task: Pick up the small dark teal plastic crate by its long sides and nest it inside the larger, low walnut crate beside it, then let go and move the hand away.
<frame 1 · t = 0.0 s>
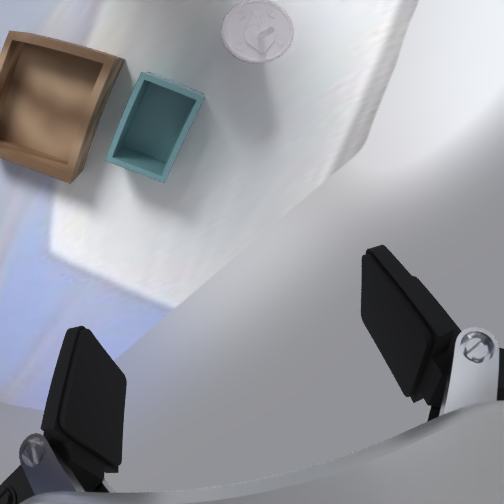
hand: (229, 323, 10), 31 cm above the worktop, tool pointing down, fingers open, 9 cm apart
small crate: (158, 120, 34), on the worktop
smoothie: (242, 40, 31), on the worktop
big crate: (50, 99, 30), on the worktop
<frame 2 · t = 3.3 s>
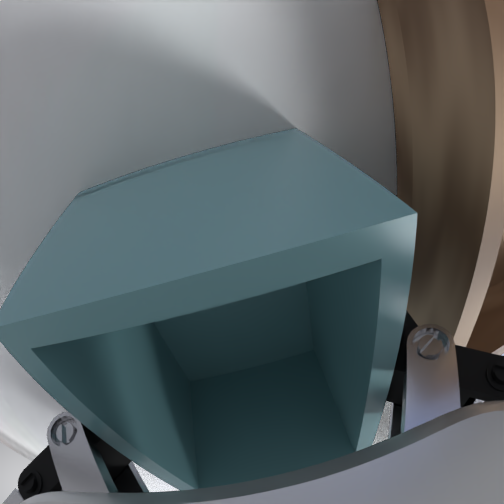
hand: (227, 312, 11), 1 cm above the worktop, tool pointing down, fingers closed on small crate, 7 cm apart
small crate: (223, 286, 12), on the worktop, touching gripper
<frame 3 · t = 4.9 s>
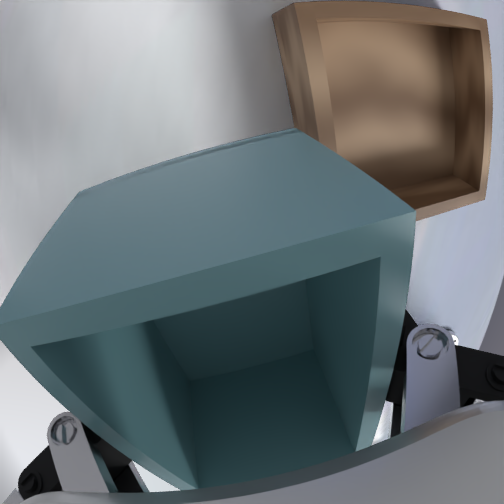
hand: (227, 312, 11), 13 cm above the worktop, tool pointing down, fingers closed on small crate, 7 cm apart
small crate: (223, 285, 12), point 11 cm above the worktop, touching gripper
big crate: (386, 105, 20), on the worktop
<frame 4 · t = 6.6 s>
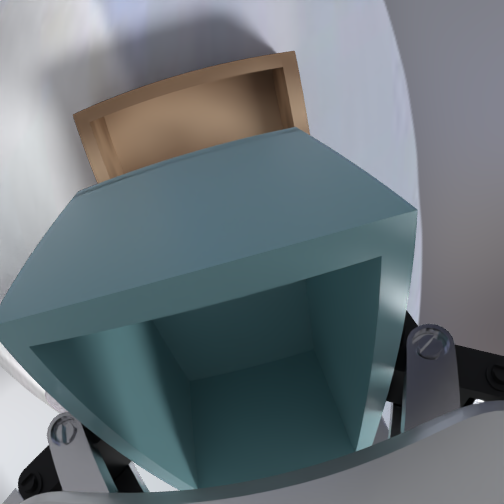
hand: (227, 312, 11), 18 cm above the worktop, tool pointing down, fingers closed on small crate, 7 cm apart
small crate: (223, 285, 12), point 16 cm above the worktop, touching gripper
big crate: (205, 162, 25), on the worktop
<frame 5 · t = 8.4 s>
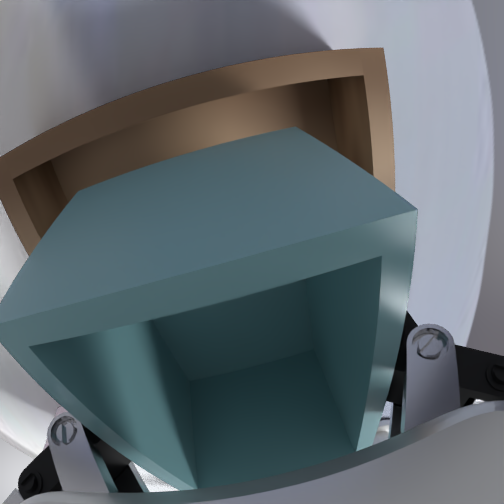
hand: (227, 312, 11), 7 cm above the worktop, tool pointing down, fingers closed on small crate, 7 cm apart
small crate: (223, 285, 12), point 5 cm above the worktop, touching gripper
big crate: (216, 224, 16), on the worktop
when the fingers open (4 cm above the worktop, at t = 10.0 s): small crate drops 2 cm, resting on big crate.
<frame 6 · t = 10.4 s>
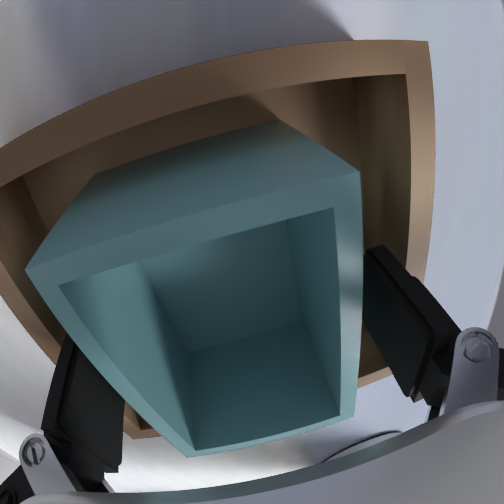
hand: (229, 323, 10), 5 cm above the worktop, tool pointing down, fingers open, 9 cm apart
small crate: (219, 259, 13), point 1 cm above the worktop, touching big crate
big crate: (217, 246, 14), on the worktop
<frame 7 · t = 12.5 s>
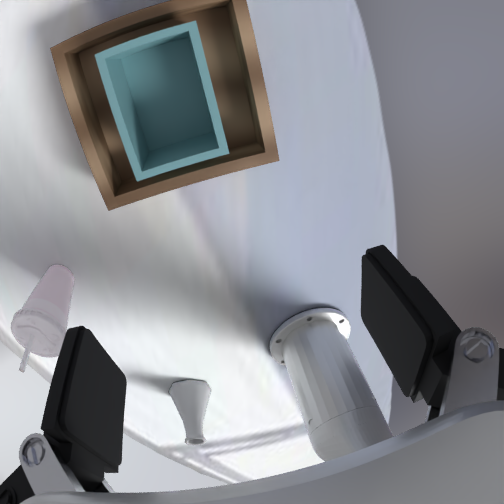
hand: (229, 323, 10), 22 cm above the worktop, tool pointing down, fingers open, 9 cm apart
small crate: (167, 93, 24), point 1 cm above the worktop, touching big crate
smoothie: (60, 276, 33), on the worktop
big crate: (168, 92, 25), on the worktop
flask: (189, 388, 50), on the worktop
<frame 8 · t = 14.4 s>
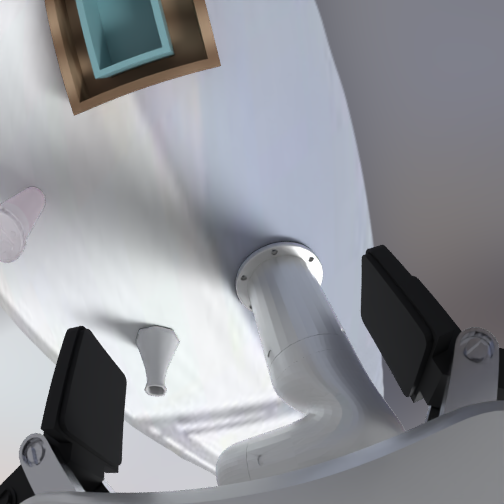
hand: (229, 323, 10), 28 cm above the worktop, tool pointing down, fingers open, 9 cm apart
small crate: (131, 24, 24), point 1 cm above the worktop, touching big crate
smoothie: (34, 199, 33), on the worktop
big crate: (133, 25, 25), on the worktop
flask: (157, 339, 49), on the worktop
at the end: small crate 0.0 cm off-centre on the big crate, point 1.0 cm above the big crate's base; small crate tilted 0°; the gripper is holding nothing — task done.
